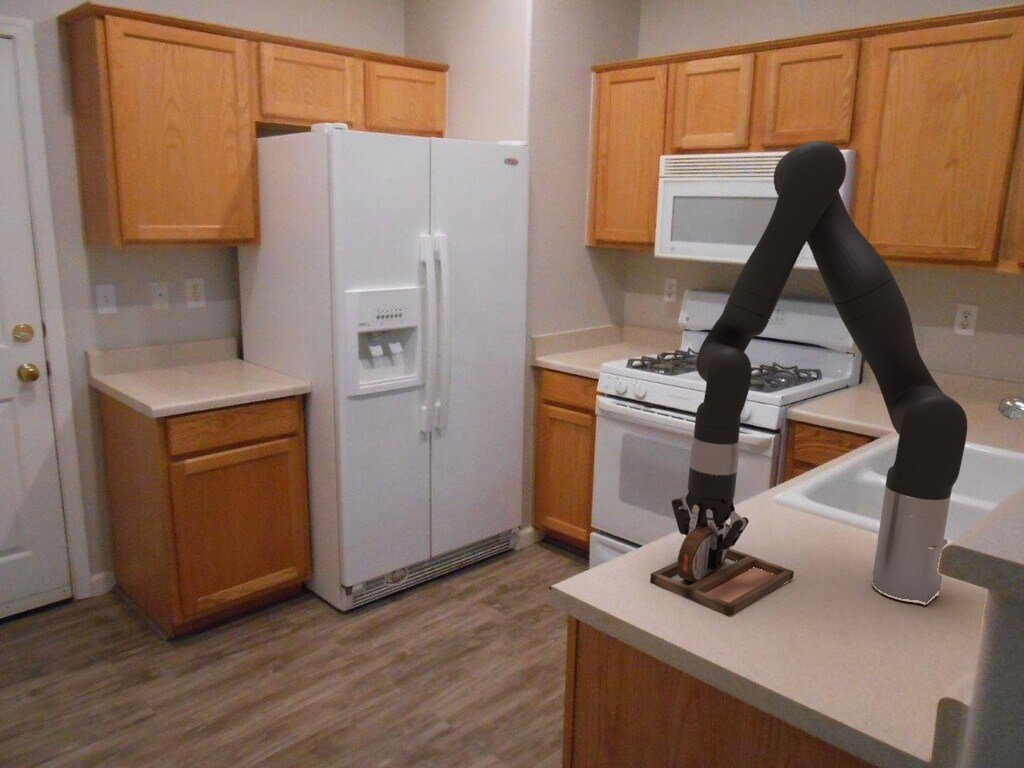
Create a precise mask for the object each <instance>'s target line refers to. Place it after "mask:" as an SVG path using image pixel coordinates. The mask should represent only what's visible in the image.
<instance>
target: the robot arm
mask: <svg viewBox="0 0 1024 768" xmlns="http://www.w3.org/2000/svg"><path fill="white" fill-rule="evenodd" d="M846 174H847V163H846V158H845V157H844V154H843V152H842V151H841V150H840V148H839V147H837V146H836V145H835V144H833V143H831V142H828V141H824V140H812V141H808V142H804V143H802V144H800V145H797V146H796V147H794V148H792V150H790V151H788V152H786V153H785V154H784V156H782V157H781V158H780V160H779V161H778V162H777V164H776V165H775V169H774V172H773V186H774V189H775V192H776V195H777V196H778V197H777V199H776V200H777V201H776V203H775V206H774V209H773V211H772V214H771V217H770V219H769V221H768V223H767V225H766V227H765V229H764V232H763V234H762V236H761V237H760V239H759V241H758V243H757V244H756V246H754V247H755V248H754V249H753V251H751V254H750V255H749V258H747V260H746V262H745V264H744V266H743V268H742V269H741V271H740V273H739V274H738V277H737V279H736V281H735V283H734V286H733V287H732V289H731V292H730V294H729V297H728V299H727V301H726V303H725V306H724V307H723V308H724V309H723V311H722V313H721V314H720V316H719V318H718V319H717V320H716V322H715V323H714V325H713V326H712V327H711V330H710V331H709V332H708V334H707V335H706V336H705V339H704V340H703V341H702V343H701V345H700V347H699V351H698V353H697V357H696V360H695V361H696V362H695V363H696V364H695V366H696V367H695V368H696V370H697V372H698V373H697V374H698V375H699V377H700V378H701V379H702V380H704V382H705V383H706V384H705V385H706V387H705V391H704V397H703V402H701V403H700V404H699V405H698V407H697V408H696V409H697V410H696V412H695V420H694V432H693V439H692V444H691V449H690V457H689V467H688V480H687V481H688V482H687V491H688V492H687V494H686V495H685V497H684V496H681V497H677V498H675V499H672V500H671V506H672V510H673V513H674V518H675V521H676V524H677V528H678V531H679V533H680V534H681V535H684V536H685V537H686V536H687V535H688V533H689V532H690V531H691V530H693V529H695V528H697V527H699V526H700V525H702V524H704V525H706V526H707V527H708V532H709V533H710V534H711V537H710V545H711V548H710V549H709V559H708V569H710V570H714V569H716V568H717V567H718V566H720V565H721V562H722V552H723V550H726V549H728V548H732V547H734V546H735V545H736V543H737V542H738V541H739V539H740V537H741V535H742V533H743V532H744V531H745V529H746V528H747V526H748V524H749V519H748V517H746V516H745V517H744V516H743V517H741V516H740V514H738V513H737V512H736V511H735V510H736V508H735V505H734V498H735V494H736V486H737V485H736V484H737V476H738V466H739V454H740V450H739V439H740V429H741V416H742V413H743V410H744V407H745V404H746V402H747V398H748V395H749V393H750V392H749V391H750V387H751V384H752V375H753V373H752V371H753V370H752V364H751V363H752V362H751V360H750V358H749V356H748V355H747V353H745V351H746V349H747V348H748V346H749V344H750V343H751V342H752V339H753V338H755V337H758V336H759V335H761V334H762V333H763V332H764V330H765V329H766V328H767V325H768V323H769V322H770V319H771V317H772V315H773V313H774V311H775V308H776V306H777V305H778V302H779V300H780V298H781V296H782V293H783V290H784V288H785V287H786V284H787V282H788V279H789V277H790V276H791V273H792V271H793V269H794V266H795V265H796V263H797V260H798V258H799V256H800V254H801V252H802V250H803V249H804V246H805V244H806V243H807V245H808V248H809V249H810V251H811V254H812V256H813V259H814V261H815V264H816V266H817V268H818V271H819V274H820V275H821V278H822V280H823V283H824V284H825V287H826V288H827V290H828V293H829V296H830V298H831V300H832V302H833V305H834V307H835V308H836V311H837V313H838V315H839V317H840V318H841V321H842V323H843V324H844V327H845V328H846V330H847V331H848V333H849V335H850V337H851V340H853V342H854V344H855V345H856V347H857V350H858V351H859V352H860V354H861V355H862V357H863V358H864V360H865V361H866V363H867V364H868V366H869V367H870V370H871V371H872V373H873V375H874V378H875V379H876V382H877V385H878V387H879V390H880V392H881V396H882V398H883V401H884V404H885V406H886V410H887V412H888V416H889V420H890V422H891V424H892V426H893V428H894V430H895V431H896V433H897V434H898V435H899V436H898V441H897V448H896V454H895V459H894V463H893V466H890V467H889V468H888V470H887V474H886V478H885V486H884V493H883V501H882V506H881V507H882V508H881V513H880V514H881V515H880V520H879V527H878V528H879V529H878V535H877V537H878V538H877V543H876V551H875V556H874V557H875V558H874V564H873V570H872V580H871V584H872V583H873V585H874V586H875V587H876V588H877V589H878V590H880V591H882V592H883V593H886V594H888V595H891V596H894V597H897V598H901V599H909V600H919V601H922V602H925V603H927V602H928V601H929V600H930V599H931V598H932V597H933V596H935V594H936V593H937V592H938V591H939V590H940V591H941V585H942V580H943V575H942V576H941V575H939V574H938V572H937V568H938V562H939V557H940V553H941V550H942V548H943V547H944V546H945V545H946V544H947V545H948V539H945V533H946V528H947V519H948V514H949V508H950V502H951V495H952V491H953V490H952V489H953V486H954V485H955V483H956V481H957V480H958V478H959V475H960V471H961V466H962V462H963V457H964V453H965V452H964V451H965V448H966V447H965V446H966V440H967V435H968V417H967V414H966V412H965V410H964V408H963V406H961V404H959V402H957V400H955V399H953V398H952V397H950V396H949V395H947V394H946V393H945V392H944V391H943V390H942V389H941V388H940V386H939V385H938V383H937V382H936V381H935V379H934V377H933V376H932V374H931V373H930V371H929V369H928V367H927V366H926V364H925V362H924V361H923V358H922V356H921V354H920V351H919V349H918V346H917V343H916V337H915V332H914V327H913V323H912V319H911V315H910V310H909V308H908V305H907V302H906V300H905V297H904V295H903V293H902V291H901V288H900V286H899V285H898V282H897V281H896V279H895V277H894V274H893V273H892V271H891V270H890V268H889V266H888V264H887V263H886V261H885V260H884V258H883V257H882V256H881V255H880V253H879V252H878V251H877V250H876V249H875V248H874V246H873V245H872V244H871V243H870V242H869V240H868V239H867V238H866V237H865V236H864V234H863V233H862V232H861V231H860V230H859V229H858V227H857V225H855V223H854V222H853V220H852V217H850V215H849V212H848V210H847V208H846V205H845V203H844V201H843V198H842V196H841V193H840V189H841V187H842V186H843V185H844V183H845V179H846V177H847V176H846ZM690 513H691V515H690ZM728 520H730V522H729V524H728V525H729V526H730V530H729V531H728V533H727V535H726V536H725V532H726V523H727V521H728Z"/></svg>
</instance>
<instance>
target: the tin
mask: <svg viewBox="0 0 1024 768" xmlns="http://www.w3.org/2000/svg"><path fill="white" fill-rule="evenodd" d="M729 525H730V524H729V523H727V522H726V532H725V536H726V535H727V533H728V531H729V530H730V528H731V527H730V526H729ZM710 537H711V534H710V533H709V532H708V527H707V526H706V525H704V524H702V525H700V526H699V527H697V528H695V529H693V530H691V531H690V532H689V533H688V535H687V536H686V535H685V537H684V540H683V541H682V543H681V546H680V548H679V551H678V555H677V561H676V562H677V571H678V574H677V575H678V577H679V578H681V579H683V580H686V581H690V582H692V583H695V582H697V581H699V580H701V579H703V578H705V577H707V576H709V575H711V574H713V573H715V571H717V570H718V569H720V568H721V567H722V565H723V564H724V563H725V561H726V559H727V558H726V557H727V554H728V551H729V548H728V549H726V550H723V552H722V562H721V565H720V566H718V567H717V568H716V569H714V570H710V569H708V559H709V549H710V548H711V545H710Z"/></svg>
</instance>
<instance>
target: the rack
mask: <svg viewBox="0 0 1024 768" xmlns="http://www.w3.org/2000/svg"><path fill="white" fill-rule="evenodd" d="M727 557H728V558H731V559H734V560H737V562H736V561H734V560H733V561H734V562H733V563H732V564H729V565H727V566H726V567H724V568H722V569H719V570H718V571H717V570H716V572H715V571H714V572H712V573H711V574H709V575H708V576H707V577H705V578H703V579H701V580H699V581H697V582H693V583H692V584H690V585H687V584H684V583H683V582H680V581H678V580H675V579H673V578H672V577H674V576H676V575H678V571H677V561H674V562H673V563H670V564H669V565H666V566H664V567H662V568H660V569H658V570H656V571H654V572H651V573H650V580H649V582H650V583H651V584H653V585H655V586H658V587H660V588H663V589H665V590H667V591H670V592H672V593H673V594H677V595H679V596H681V597H684V598H685V599H688V600H691V601H693V602H695V603H697V604H700V605H702V606H705V607H706V608H709V609H712V610H714V611H716V612H719V613H721V614H723V615H725V616H728V617H731V616H733V615H735V614H737V613H738V612H740V611H742V610H744V609H745V608H748V607H749V606H751V605H752V604H754V603H756V602H757V601H759V600H760V598H761V599H762V598H764V597H766V596H768V595H769V594H770V592H771V593H772V591H773V590H774V591H776V590H777V589H776V588H778V587H779V588H781V587H782V586H781V585H783V584H784V583H786V582H787V581H789V580H791V579H792V578H793V579H794V574H795V573H794V570H792V569H789V568H786V567H784V566H780V565H777V564H775V563H772V562H769V561H767V560H763V559H761V558H759V557H756V556H752V555H750V554H747V553H744V552H741V551H738V550H735V549H733V548H732V547H730V548H729V551H728V554H727ZM728 558H727V559H728ZM731 559H730V560H731ZM753 567H754V568H753ZM749 569H750V570H749ZM761 569H762V570H761ZM772 573H773V574H772ZM791 581H792V580H791ZM786 584H787V583H786ZM780 586H781V587H780ZM783 586H784V585H783ZM779 588H778V589H779ZM775 589H776V590H775ZM774 591H773V592H774ZM768 593H769V594H768ZM765 595H766V596H765ZM763 596H764V597H763ZM758 599H759V600H758ZM755 601H756V602H755Z"/></svg>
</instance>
